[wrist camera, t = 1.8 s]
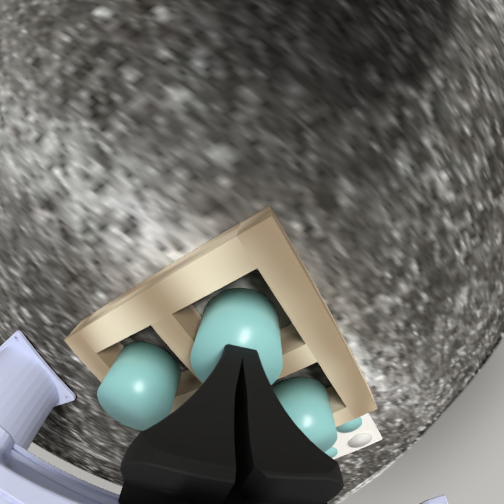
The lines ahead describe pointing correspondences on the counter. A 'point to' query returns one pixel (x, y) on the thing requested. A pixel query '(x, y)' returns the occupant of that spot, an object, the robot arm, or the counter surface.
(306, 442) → the robot arm
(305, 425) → the button
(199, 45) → the counter surface
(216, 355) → the button
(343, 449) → the tile
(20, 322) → the counter surface
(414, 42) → the counter surface
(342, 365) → the wooden compartment tray
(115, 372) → the button
